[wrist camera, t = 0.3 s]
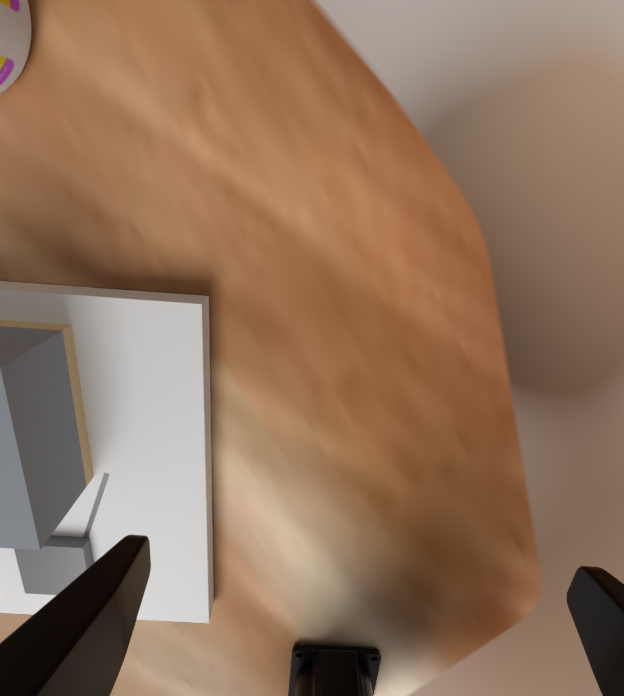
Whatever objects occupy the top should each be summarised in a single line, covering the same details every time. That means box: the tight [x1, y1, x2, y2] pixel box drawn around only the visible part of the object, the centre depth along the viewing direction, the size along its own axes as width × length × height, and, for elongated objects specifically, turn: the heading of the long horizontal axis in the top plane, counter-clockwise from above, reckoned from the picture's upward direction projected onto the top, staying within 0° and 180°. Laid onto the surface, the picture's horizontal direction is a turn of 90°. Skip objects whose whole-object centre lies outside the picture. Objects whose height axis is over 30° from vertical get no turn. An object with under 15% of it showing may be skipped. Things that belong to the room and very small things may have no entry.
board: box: [0, 281, 214, 623], centre depth 24 cm, size 22×18×2 cm
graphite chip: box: [14, 535, 94, 595], centre depth 26 cm, size 4×4×1 cm
